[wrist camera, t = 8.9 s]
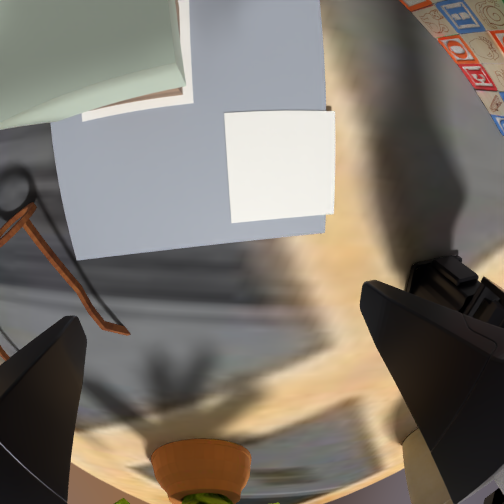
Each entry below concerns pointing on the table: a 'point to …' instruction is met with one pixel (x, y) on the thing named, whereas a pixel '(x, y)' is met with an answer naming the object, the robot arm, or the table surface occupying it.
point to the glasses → (58, 265)
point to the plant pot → (423, 472)
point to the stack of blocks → (470, 43)
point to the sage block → (83, 56)
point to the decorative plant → (201, 471)
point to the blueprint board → (209, 140)
